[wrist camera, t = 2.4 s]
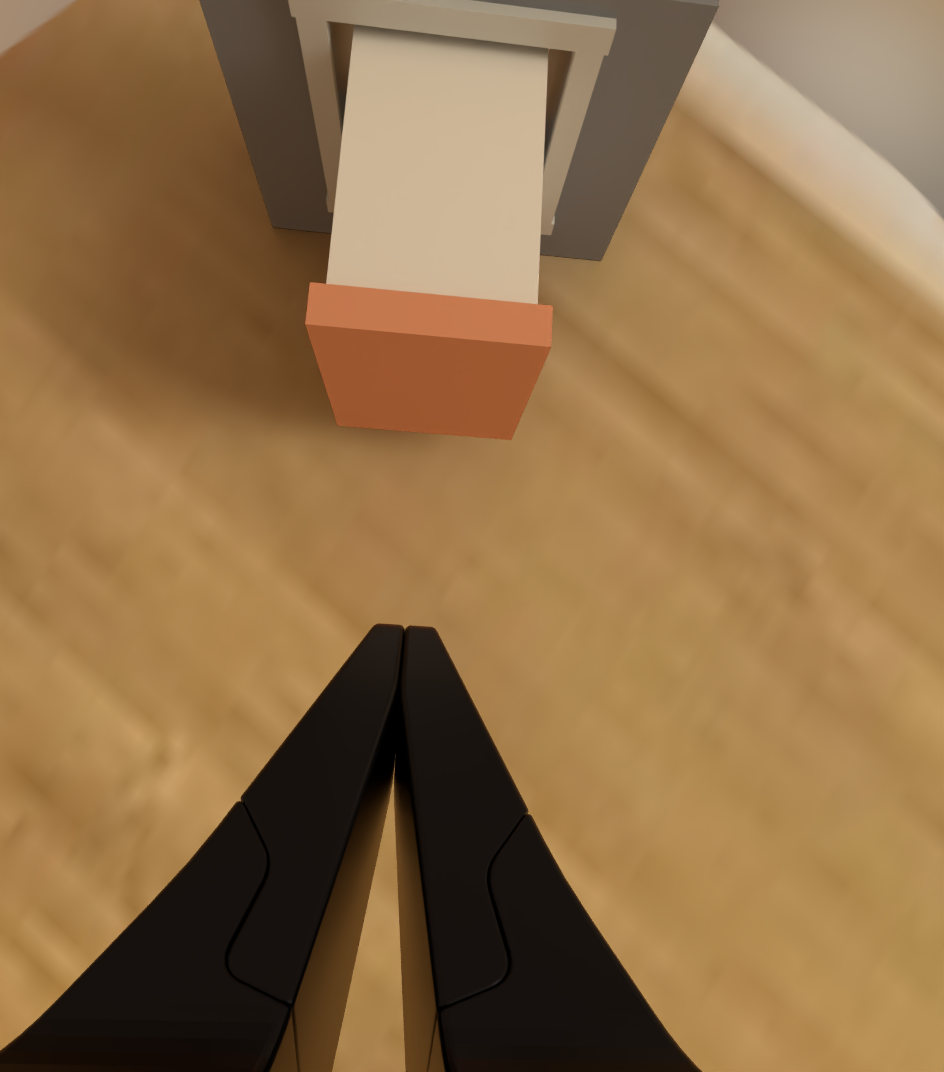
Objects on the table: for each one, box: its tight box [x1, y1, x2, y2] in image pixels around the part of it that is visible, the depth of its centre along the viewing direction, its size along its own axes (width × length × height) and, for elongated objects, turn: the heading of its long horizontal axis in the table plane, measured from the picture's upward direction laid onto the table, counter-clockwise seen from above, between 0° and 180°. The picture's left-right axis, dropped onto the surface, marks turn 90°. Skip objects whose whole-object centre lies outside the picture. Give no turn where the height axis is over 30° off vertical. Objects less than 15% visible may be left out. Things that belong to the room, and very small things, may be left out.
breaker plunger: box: [305, 24, 553, 440], centre depth 19 cm, size 10×5×6 cm, turn 177°
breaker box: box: [199, 0, 719, 261], centre depth 20 cm, size 4×12×10 cm, turn 87°
